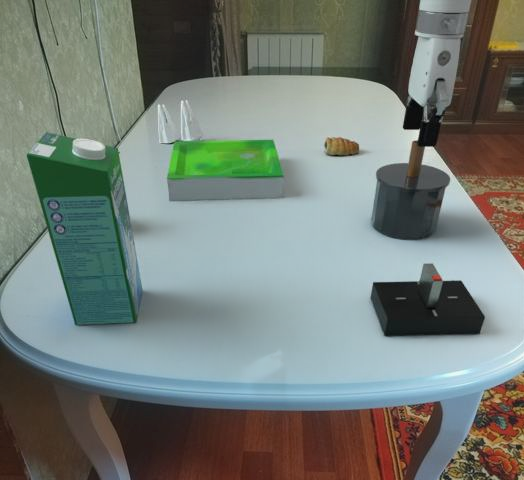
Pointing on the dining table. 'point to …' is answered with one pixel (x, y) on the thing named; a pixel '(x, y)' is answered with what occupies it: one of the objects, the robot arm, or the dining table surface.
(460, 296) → the panel
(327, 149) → the pastry
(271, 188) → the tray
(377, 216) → the pot
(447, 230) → the dining table surface
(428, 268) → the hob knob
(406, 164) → the lid
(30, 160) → the milk carton
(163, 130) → the shaker set
